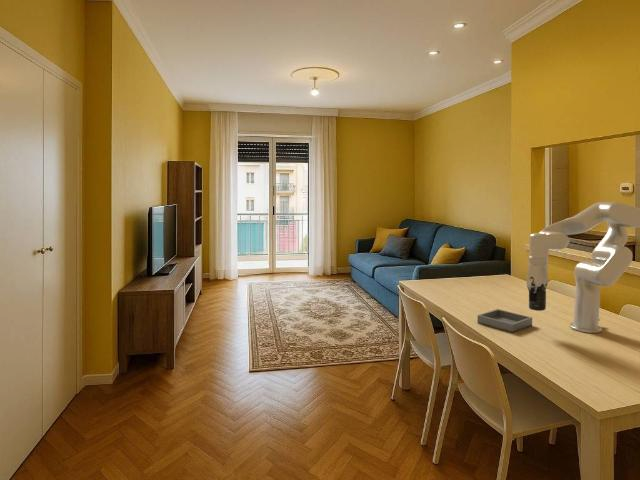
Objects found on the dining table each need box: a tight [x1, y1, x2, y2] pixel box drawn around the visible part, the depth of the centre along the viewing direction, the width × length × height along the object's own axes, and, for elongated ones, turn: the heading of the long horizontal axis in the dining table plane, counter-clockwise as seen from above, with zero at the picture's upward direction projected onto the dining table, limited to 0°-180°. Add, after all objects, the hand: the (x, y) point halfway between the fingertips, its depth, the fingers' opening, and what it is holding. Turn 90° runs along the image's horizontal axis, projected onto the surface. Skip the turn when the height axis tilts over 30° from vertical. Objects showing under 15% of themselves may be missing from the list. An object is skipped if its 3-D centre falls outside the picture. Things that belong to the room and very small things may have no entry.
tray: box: [476, 308, 533, 334], centre depth 195 cm, size 17×18×4 cm
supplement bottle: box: [528, 284, 547, 312], centre depth 181 cm, size 7×7×12 cm
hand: (537, 299), depth 181 cm, fingers closed on supplement bottle, 6 cm apart
